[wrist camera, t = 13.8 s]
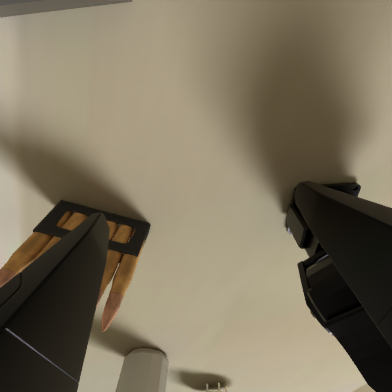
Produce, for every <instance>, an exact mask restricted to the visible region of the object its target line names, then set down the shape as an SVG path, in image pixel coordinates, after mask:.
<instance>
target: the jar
mask: <svg viewBox="0 0 392 392" xmlns="http://www.w3.org/2000/svg"><path fill="white" fill-rule="evenodd" d="M168 362H169V361H168V359H167V357H166V356H165V355H164V354H163V353H162V352H161V351H158V350H155V349H150V348H139V349H134V350H133V351H131V352H130V353H129V354H128V355H127V356H126V357H125V358H124V362H123V366H122V370H121V373H120V377H119V381H118V384H117V388H116V392H165V388H166V379H167V371H168Z"/></svg>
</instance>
